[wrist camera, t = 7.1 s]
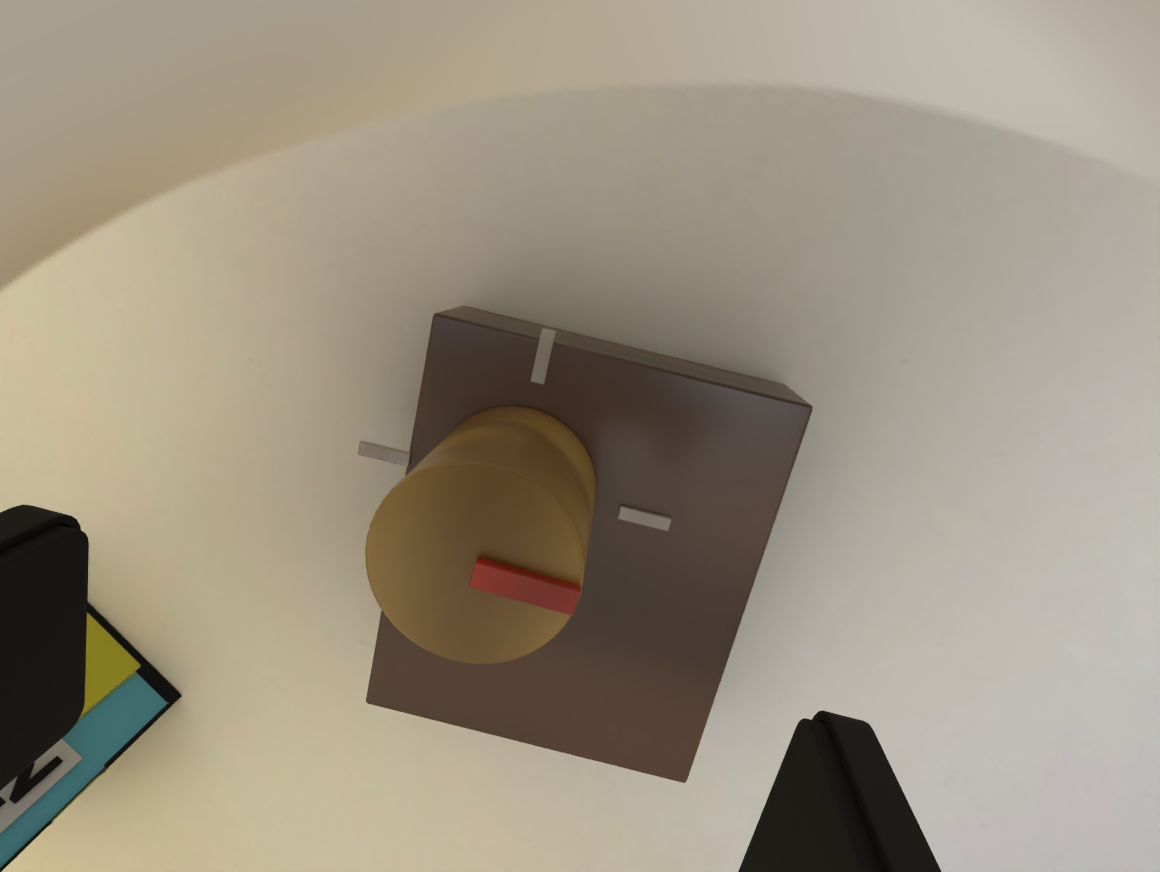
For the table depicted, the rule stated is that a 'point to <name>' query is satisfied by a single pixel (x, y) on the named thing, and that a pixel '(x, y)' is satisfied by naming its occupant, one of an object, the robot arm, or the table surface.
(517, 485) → the knob
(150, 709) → the carton
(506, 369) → the panel
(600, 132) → the table surface
